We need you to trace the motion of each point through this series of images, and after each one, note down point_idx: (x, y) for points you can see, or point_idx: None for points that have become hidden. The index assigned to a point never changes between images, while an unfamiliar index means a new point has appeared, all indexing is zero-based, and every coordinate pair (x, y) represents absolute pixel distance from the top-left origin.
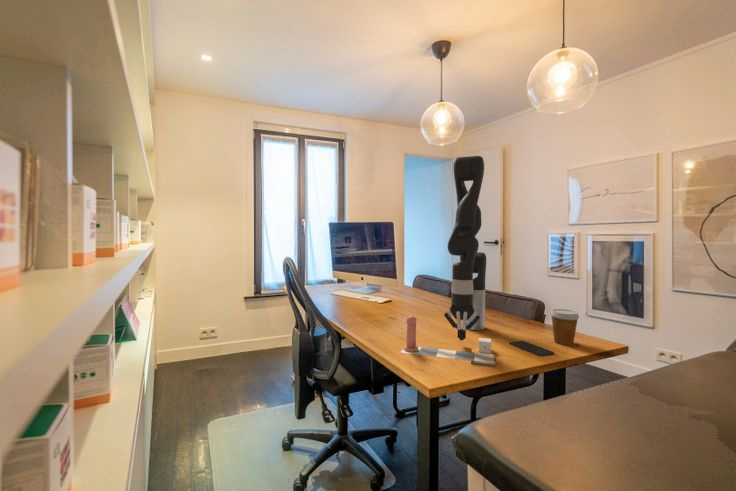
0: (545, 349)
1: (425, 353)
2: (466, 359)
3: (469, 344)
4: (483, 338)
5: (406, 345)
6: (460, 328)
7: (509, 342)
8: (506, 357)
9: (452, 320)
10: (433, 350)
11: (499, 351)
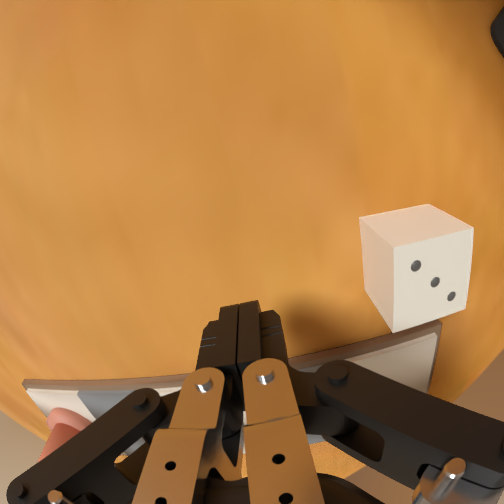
0: None
1: (139, 445)
2: (315, 439)
3: (276, 152)
4: (427, 247)
5: (49, 425)
6: (241, 428)
7: (497, 35)
8: (482, 290)
9: (113, 452)
10: None
11: (468, 213)
